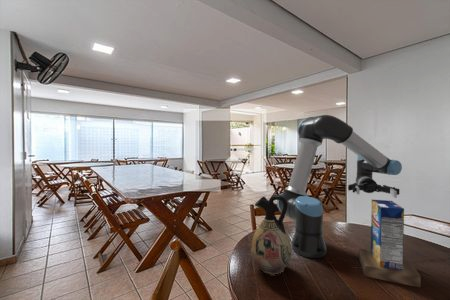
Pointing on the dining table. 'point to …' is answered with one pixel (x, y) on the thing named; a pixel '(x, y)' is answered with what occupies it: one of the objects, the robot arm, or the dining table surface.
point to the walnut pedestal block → (389, 270)
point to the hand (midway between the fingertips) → (376, 193)
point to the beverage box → (387, 234)
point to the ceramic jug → (271, 238)
